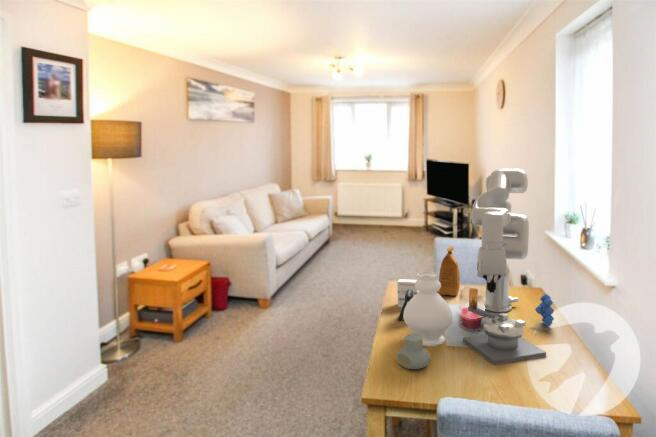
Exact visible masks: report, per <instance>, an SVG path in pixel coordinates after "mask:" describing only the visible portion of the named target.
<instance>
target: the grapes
mask: <svg viewBox="0 0 656 437" xmlns="http://www.w3.org/2000/svg"><path fill="white" fill-rule="evenodd" d="M540 301H541V302H540V303H539V305H537V306H536V307H535V309H534V311H535V312H536V313H537V314H539V315H540V316H541V317H542V318H541V321H542V323H543V324H544V325H545V326H546V327H548V328H549V327H551V326H552V325H553V321H554V320H555V318H554V317H553V313H554V312H555V310H554V308H553V307H552V305H553V304H554V302H553V301H552V297H551V296H550V295H549V294H548V293H544V294H543V295H542V296H541V297H540Z"/></svg>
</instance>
